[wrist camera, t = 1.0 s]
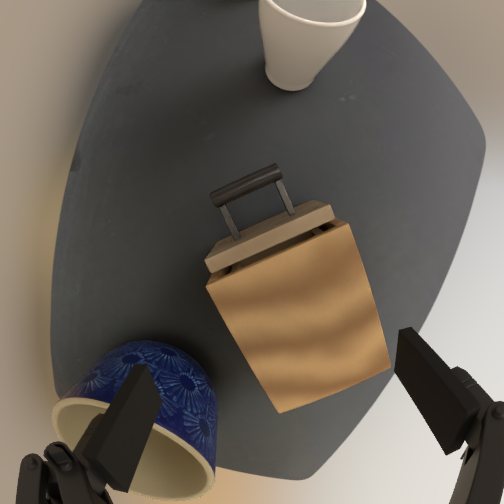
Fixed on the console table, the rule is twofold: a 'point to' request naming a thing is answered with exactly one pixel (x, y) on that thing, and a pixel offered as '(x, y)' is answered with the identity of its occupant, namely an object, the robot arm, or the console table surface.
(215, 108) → the console table surface
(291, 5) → the drinking glass
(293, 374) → the cabinet
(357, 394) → the console table surface
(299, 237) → the drawer
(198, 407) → the planter
